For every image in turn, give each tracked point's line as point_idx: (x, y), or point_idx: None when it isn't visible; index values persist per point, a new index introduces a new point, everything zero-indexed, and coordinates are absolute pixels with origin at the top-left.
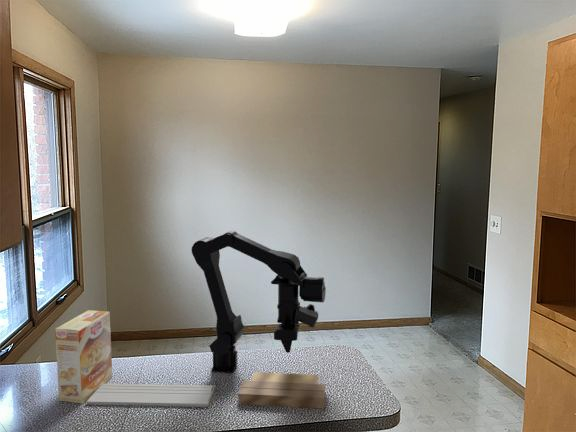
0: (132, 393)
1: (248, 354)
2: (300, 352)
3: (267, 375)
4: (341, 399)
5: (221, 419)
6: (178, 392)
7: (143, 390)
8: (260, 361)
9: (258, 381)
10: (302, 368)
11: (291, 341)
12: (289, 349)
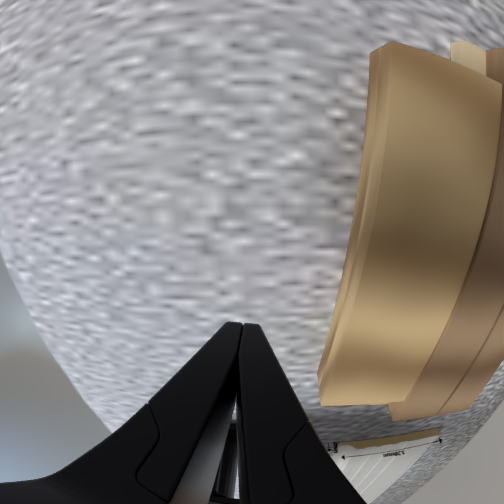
0: None
1: (91, 378)
2: (5, 179)
3: (368, 359)
4: (494, 3)
5: (494, 391)
6: (366, 477)
7: None
8: (128, 351)
9: (420, 382)
10: (159, 144)
11: (322, 451)
12: (271, 355)
